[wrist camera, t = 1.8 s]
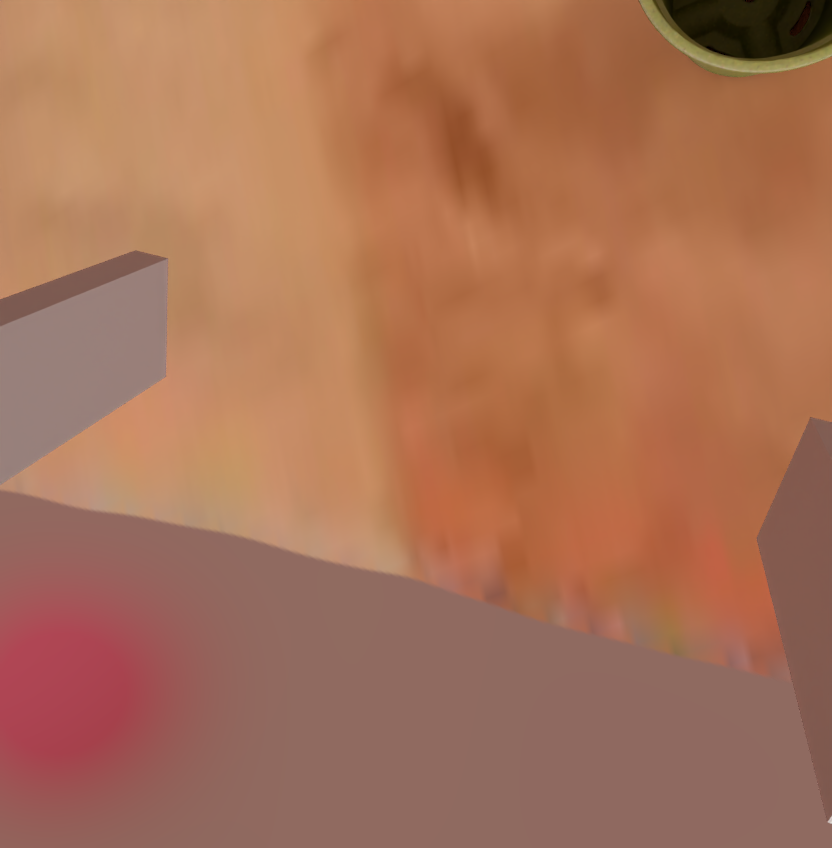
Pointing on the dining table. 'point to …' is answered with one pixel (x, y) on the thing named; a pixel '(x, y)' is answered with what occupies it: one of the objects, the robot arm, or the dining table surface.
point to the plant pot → (744, 33)
